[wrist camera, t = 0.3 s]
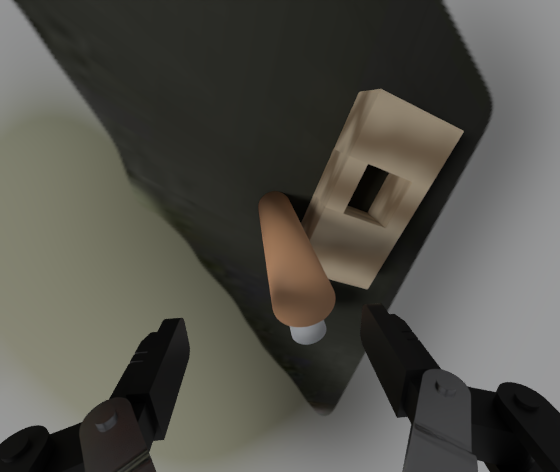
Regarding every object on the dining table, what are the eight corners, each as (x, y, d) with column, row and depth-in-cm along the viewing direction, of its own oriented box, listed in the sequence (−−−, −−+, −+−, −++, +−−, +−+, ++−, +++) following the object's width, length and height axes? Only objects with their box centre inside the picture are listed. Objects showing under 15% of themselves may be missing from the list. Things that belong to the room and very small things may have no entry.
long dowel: (264, 186, 31) (286, 269, 15) (295, 197, 32) (346, 285, 16) (253, 216, 33) (263, 320, 17) (283, 225, 34) (319, 332, 18)
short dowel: (287, 269, 37) (299, 314, 29) (313, 276, 38) (332, 322, 30) (277, 292, 38) (286, 341, 30) (302, 298, 39) (317, 347, 31)
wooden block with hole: (359, 91, 28) (380, 88, 24) (432, 127, 31) (464, 131, 26) (289, 249, 35) (295, 270, 31) (352, 268, 38) (367, 289, 34)
